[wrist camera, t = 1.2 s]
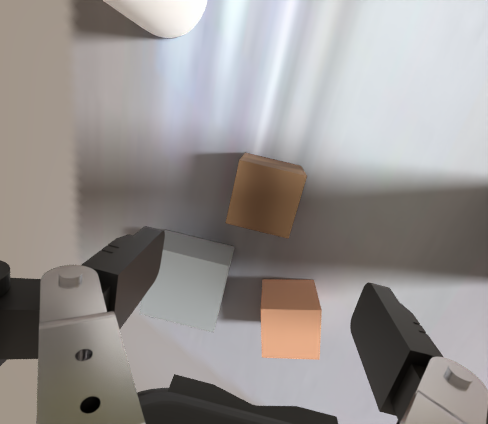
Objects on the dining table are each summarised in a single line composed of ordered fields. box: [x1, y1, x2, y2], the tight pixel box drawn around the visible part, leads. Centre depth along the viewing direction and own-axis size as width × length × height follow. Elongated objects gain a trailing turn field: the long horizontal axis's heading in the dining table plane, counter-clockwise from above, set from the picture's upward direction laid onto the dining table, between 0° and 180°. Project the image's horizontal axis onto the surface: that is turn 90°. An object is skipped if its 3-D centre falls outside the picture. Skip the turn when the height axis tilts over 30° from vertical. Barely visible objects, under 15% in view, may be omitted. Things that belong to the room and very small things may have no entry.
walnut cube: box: [226, 153, 307, 239], centre depth 25 cm, size 5×5×5 cm
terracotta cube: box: [261, 279, 322, 360], centre depth 28 cm, size 5×5×5 cm
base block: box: [140, 230, 235, 332], centre depth 28 cm, size 7×7×4 cm
